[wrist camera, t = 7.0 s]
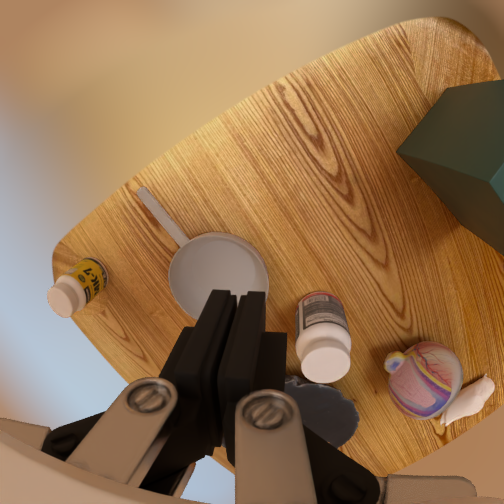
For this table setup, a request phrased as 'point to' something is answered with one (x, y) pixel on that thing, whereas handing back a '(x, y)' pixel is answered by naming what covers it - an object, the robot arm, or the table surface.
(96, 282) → the supplement bottle
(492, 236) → the teal box with knob
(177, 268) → the small pan
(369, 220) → the table surface
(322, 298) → the pill bottle
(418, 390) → the anatomical model
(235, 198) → the table surface
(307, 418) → the board
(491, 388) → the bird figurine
